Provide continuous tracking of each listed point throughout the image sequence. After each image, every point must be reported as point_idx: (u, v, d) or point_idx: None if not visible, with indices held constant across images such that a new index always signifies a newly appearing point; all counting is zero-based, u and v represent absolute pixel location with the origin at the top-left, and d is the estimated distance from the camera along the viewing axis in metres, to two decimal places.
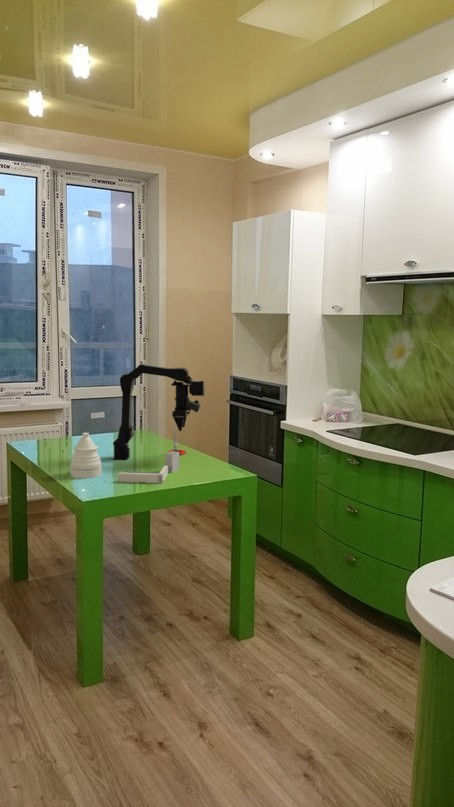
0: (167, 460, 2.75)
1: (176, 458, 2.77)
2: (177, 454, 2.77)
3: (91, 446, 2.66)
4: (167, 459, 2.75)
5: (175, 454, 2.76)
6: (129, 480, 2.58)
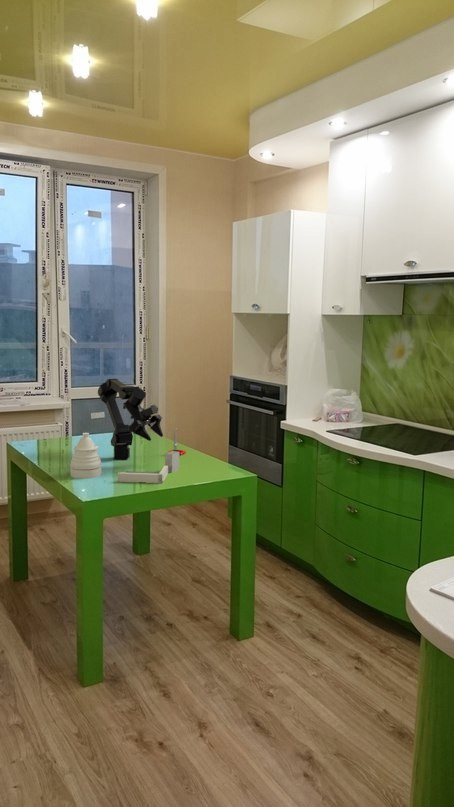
0: (167, 460, 2.75)
1: (176, 458, 2.77)
2: (177, 454, 2.77)
3: (91, 446, 2.66)
4: (167, 459, 2.75)
5: (175, 454, 2.76)
6: (129, 480, 2.58)
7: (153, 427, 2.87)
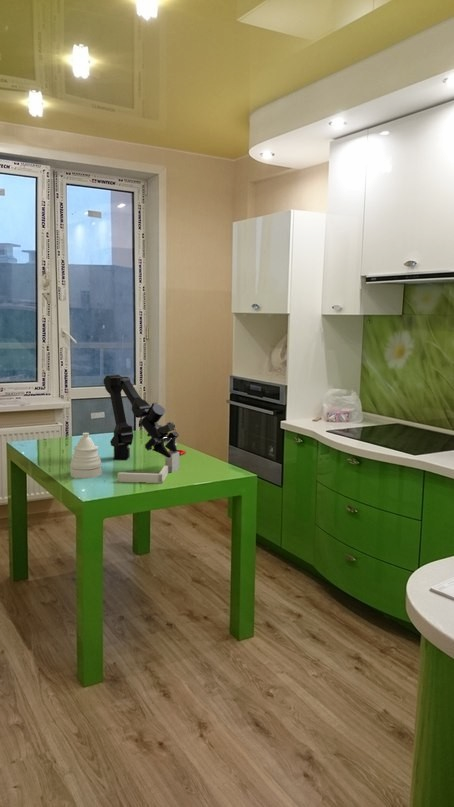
0: (167, 460, 2.75)
1: (176, 458, 2.77)
2: (177, 454, 2.77)
3: (91, 446, 2.66)
4: (167, 459, 2.75)
5: (175, 454, 2.76)
6: (129, 480, 2.58)
7: (168, 445, 2.81)
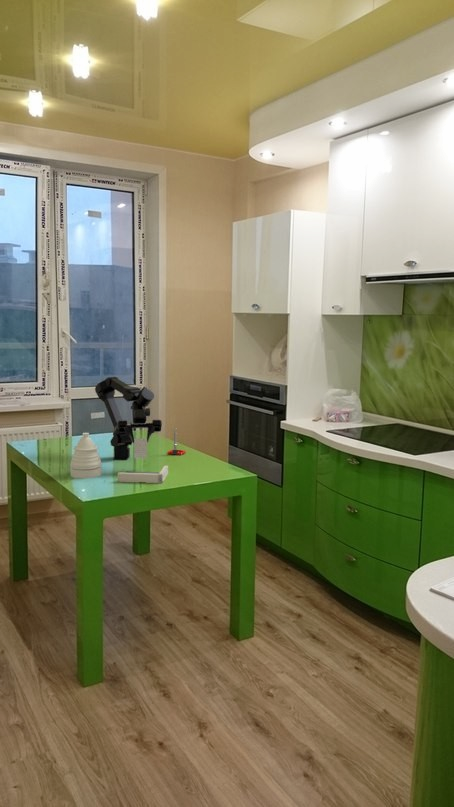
0: None
1: (142, 445, 2.72)
2: (144, 441, 2.72)
3: (91, 446, 2.66)
4: None
5: (140, 441, 2.72)
6: (129, 480, 2.58)
7: None
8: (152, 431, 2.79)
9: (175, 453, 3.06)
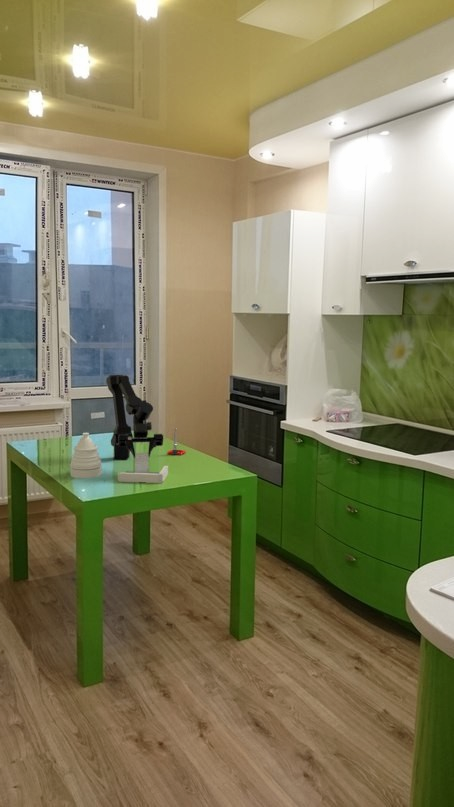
0: None
1: (143, 460, 2.65)
2: (145, 456, 2.65)
3: (91, 446, 2.66)
4: None
5: (141, 456, 2.65)
6: (129, 480, 2.58)
7: None
8: (154, 445, 2.72)
9: (175, 453, 3.06)
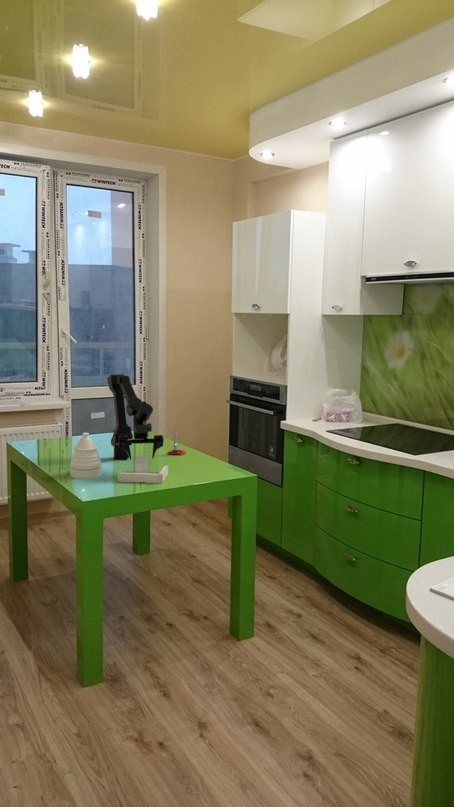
0: None
1: (143, 463, 2.65)
2: (145, 459, 2.65)
3: (91, 446, 2.66)
4: None
5: (141, 458, 2.64)
6: (129, 480, 2.58)
7: None
8: (158, 447, 2.72)
9: (175, 453, 3.06)
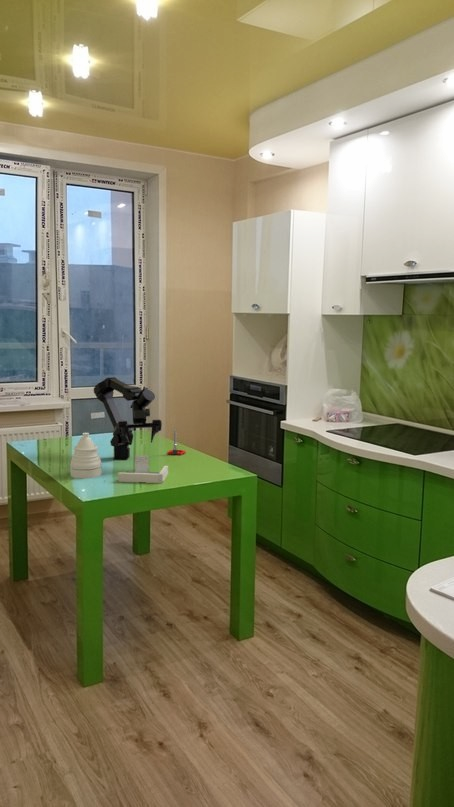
0: None
1: (143, 463, 2.65)
2: (145, 459, 2.65)
3: (91, 446, 2.66)
4: None
5: (141, 458, 2.64)
6: (129, 480, 2.58)
7: None
8: (156, 431, 2.81)
9: (175, 453, 3.06)
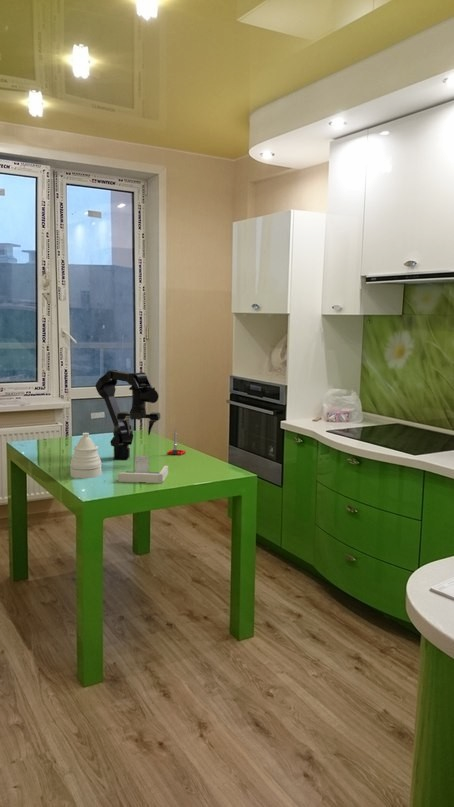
0: None
1: (143, 463, 2.65)
2: (145, 459, 2.65)
3: (91, 446, 2.66)
4: None
5: (141, 458, 2.64)
6: (129, 480, 2.58)
7: None
8: None
9: (175, 453, 3.06)
